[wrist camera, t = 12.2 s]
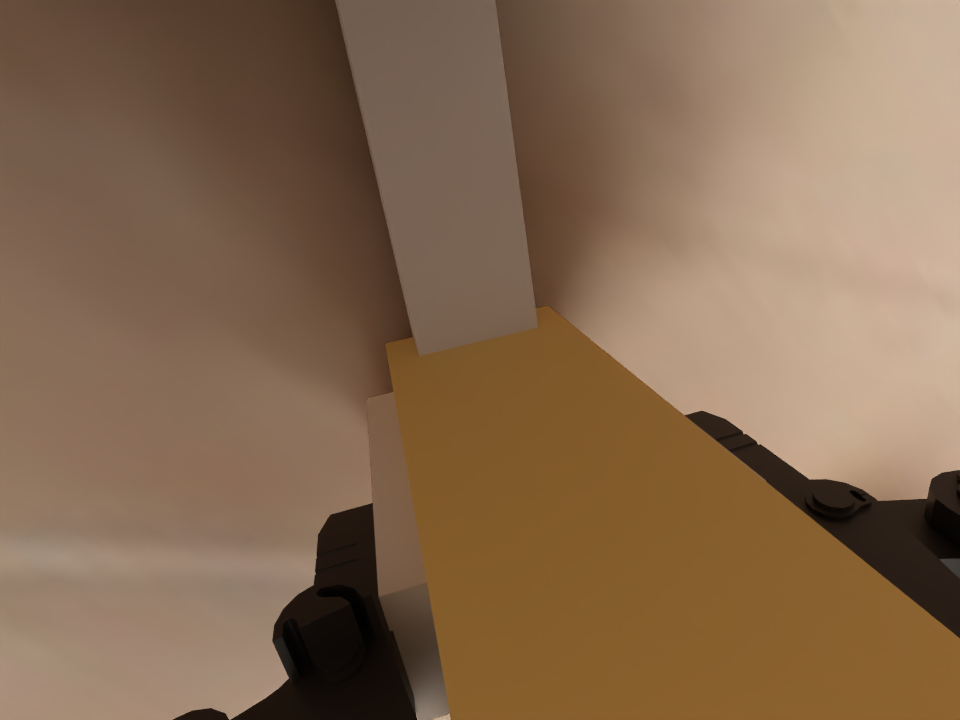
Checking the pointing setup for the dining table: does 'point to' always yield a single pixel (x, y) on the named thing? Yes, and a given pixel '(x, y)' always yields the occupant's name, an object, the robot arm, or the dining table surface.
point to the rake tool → (587, 460)
